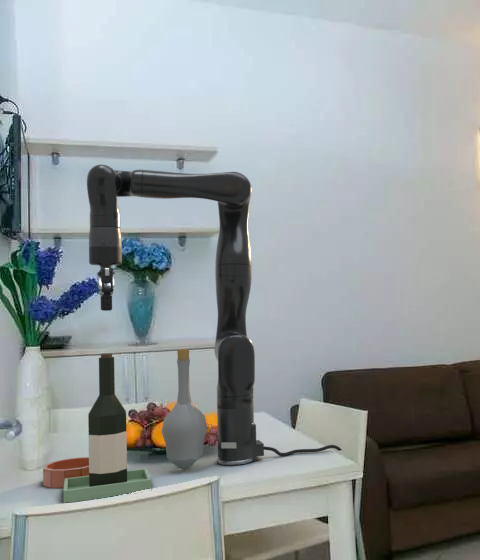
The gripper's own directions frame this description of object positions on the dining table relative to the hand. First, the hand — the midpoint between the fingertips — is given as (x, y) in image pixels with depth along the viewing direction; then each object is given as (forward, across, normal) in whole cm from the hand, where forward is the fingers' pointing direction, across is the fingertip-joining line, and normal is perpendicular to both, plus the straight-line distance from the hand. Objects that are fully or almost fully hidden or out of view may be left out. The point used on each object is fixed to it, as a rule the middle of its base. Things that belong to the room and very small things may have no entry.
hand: (106, 310), depth 170 cm
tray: (+40, -18, +1) cm, 44 cm away
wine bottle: (+40, -18, +1) cm, 44 cm away
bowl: (+40, -4, +8) cm, 41 cm away
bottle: (+40, -9, -17) cm, 45 cm away
